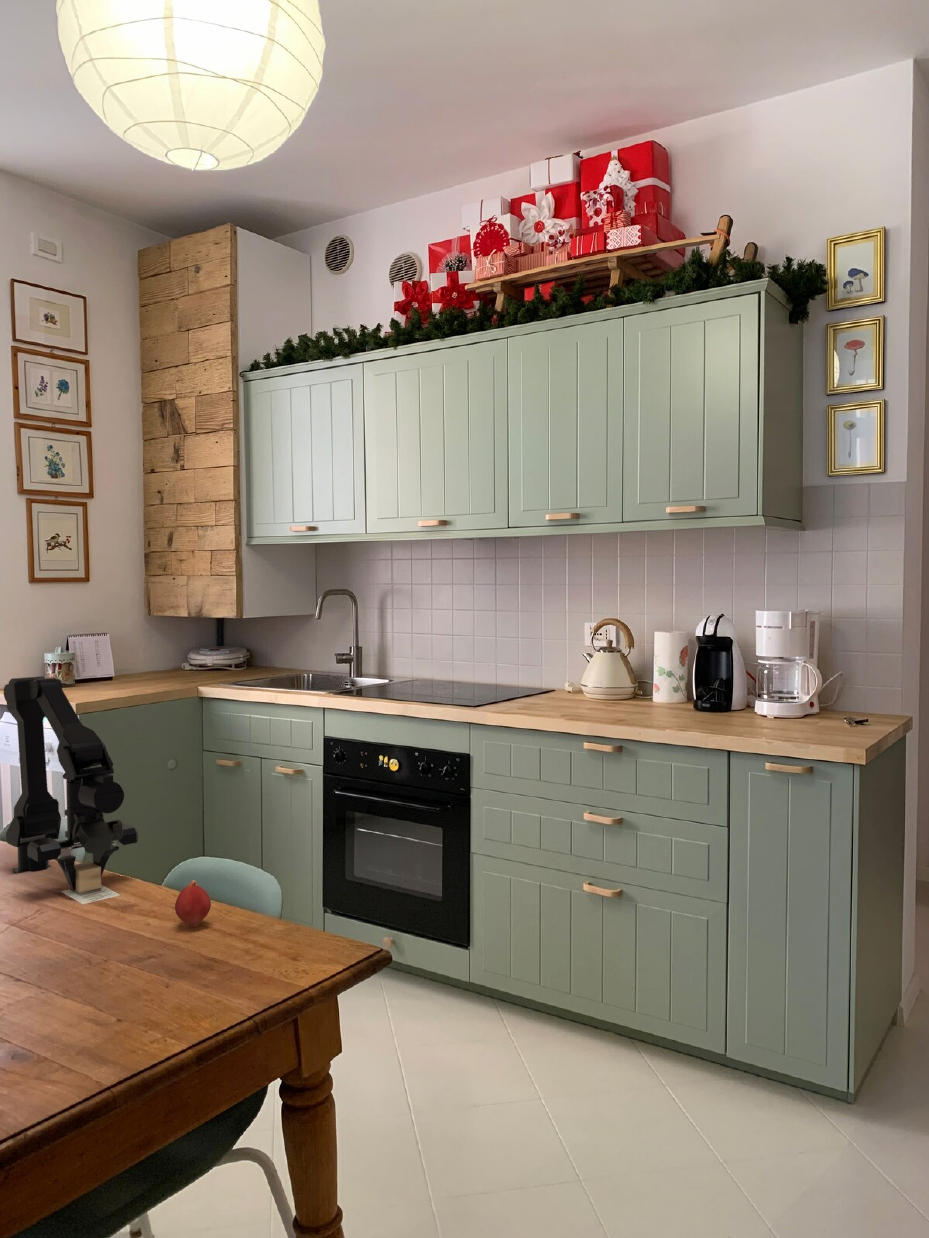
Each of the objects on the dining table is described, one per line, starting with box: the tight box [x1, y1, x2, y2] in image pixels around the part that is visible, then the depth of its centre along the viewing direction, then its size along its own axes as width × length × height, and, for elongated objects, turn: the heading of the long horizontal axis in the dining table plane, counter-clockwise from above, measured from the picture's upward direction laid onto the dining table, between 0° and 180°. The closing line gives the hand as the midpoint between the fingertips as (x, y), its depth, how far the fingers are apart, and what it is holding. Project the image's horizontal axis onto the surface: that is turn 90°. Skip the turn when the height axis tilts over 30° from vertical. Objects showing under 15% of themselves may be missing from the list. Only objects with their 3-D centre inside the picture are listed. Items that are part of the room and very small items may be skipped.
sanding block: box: [68, 861, 102, 896], centre depth 176 cm, size 5×4×4 cm
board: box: [61, 884, 121, 905], centre depth 174 cm, size 10×7×1 cm
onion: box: [174, 880, 212, 928], centre depth 159 cm, size 6×6×8 cm
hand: (85, 887), depth 176 cm, fingers closed on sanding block, 4 cm apart
